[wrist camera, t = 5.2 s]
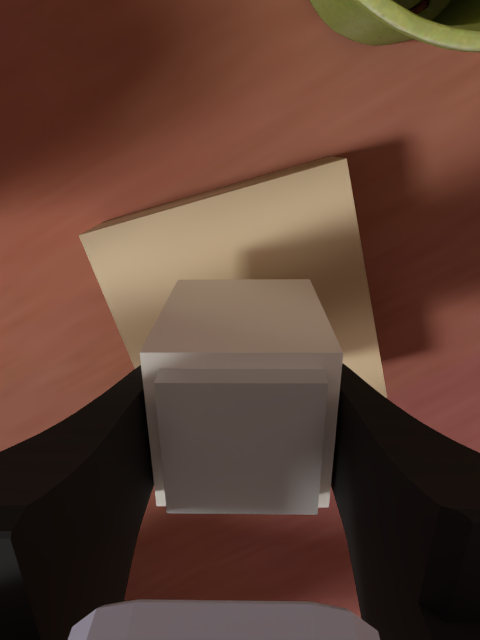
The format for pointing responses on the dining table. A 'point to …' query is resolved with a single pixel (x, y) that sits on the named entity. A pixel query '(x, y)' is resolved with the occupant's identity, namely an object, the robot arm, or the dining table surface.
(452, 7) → the plant pot
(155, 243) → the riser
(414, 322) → the dining table surface
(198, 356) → the white rectangular block
